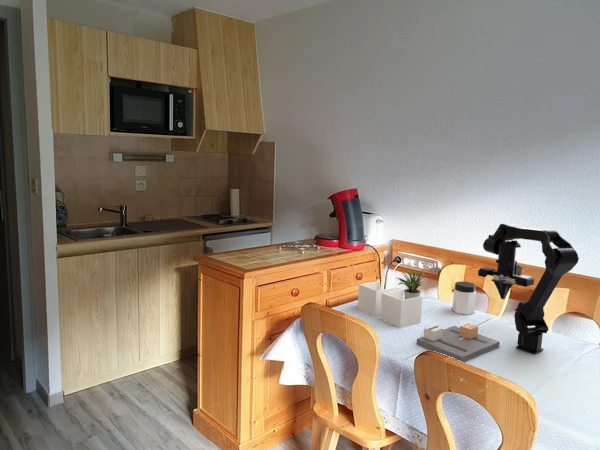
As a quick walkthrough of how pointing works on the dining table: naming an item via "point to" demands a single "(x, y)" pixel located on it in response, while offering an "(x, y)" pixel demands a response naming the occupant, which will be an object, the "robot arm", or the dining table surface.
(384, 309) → the white cube planter
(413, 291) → the house plant
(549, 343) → the dining table surface
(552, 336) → the dining table surface
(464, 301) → the jar
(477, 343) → the mixer board
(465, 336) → the right fader
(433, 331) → the left fader
